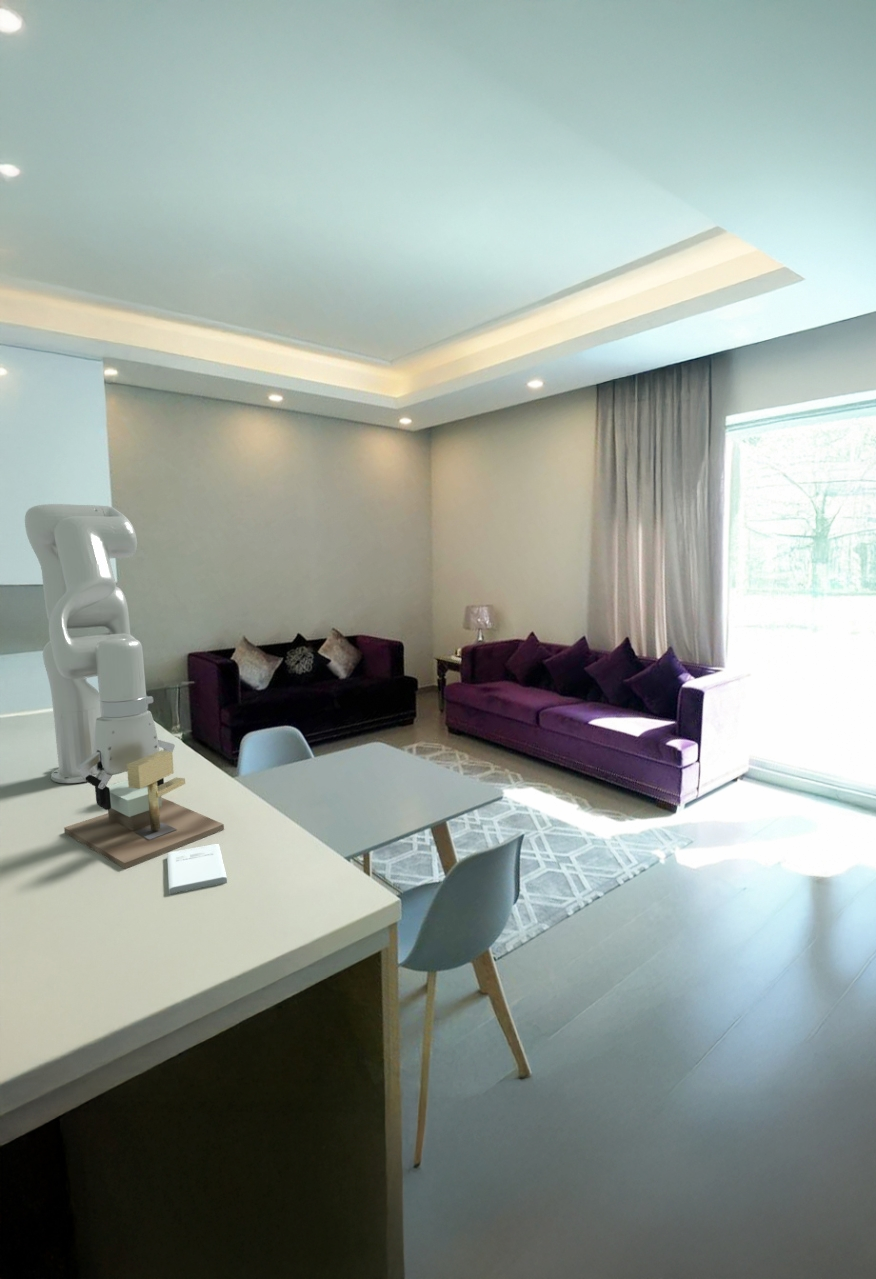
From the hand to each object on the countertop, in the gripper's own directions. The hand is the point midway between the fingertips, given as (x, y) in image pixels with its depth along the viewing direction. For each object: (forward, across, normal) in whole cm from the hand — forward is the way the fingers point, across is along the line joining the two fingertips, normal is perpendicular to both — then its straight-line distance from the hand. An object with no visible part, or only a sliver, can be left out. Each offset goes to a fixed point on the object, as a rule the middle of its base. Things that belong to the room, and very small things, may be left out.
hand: (131, 799), depth 117 cm
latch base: (+5, 0, +4) cm, 6 cm away
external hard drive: (+6, +2, +24) cm, 25 cm away
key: (+4, -2, +7) cm, 8 cm away
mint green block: (+1, 0, 0) cm, 1 cm away
